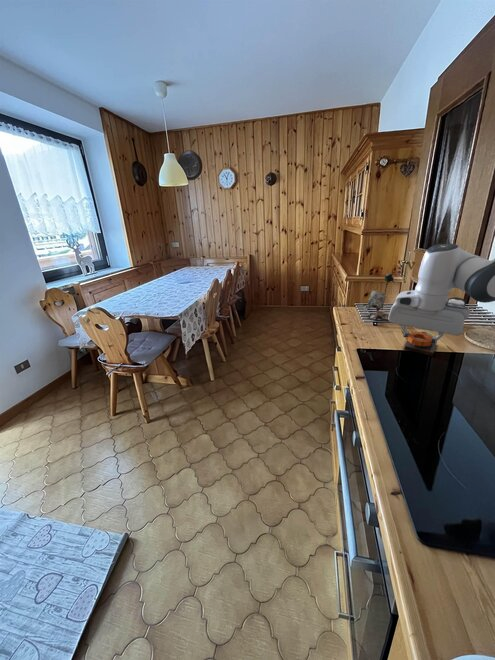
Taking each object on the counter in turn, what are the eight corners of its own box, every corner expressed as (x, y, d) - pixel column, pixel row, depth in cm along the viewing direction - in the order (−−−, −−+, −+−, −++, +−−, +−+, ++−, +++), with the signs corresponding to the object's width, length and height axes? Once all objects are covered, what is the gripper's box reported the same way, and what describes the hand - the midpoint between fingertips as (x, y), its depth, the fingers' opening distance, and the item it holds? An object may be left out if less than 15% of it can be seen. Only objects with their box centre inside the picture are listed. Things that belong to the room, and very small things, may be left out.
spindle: (436, 345, 104) (440, 330, 102) (432, 356, 98) (436, 341, 95) (409, 339, 109) (412, 325, 107) (404, 349, 103) (407, 335, 100)
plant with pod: (366, 311, 134) (372, 270, 125) (392, 316, 128) (400, 273, 119) (362, 318, 128) (367, 275, 119) (388, 323, 122) (397, 278, 113)
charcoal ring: (433, 342, 104) (434, 338, 103) (430, 350, 99) (431, 346, 98) (412, 337, 107) (413, 333, 107) (408, 345, 103) (409, 341, 102)
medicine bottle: (440, 321, 121) (448, 294, 116) (461, 324, 117) (469, 297, 111) (437, 327, 116) (445, 300, 111) (458, 331, 112) (467, 303, 107)
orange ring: (432, 339, 92) (433, 334, 91) (429, 348, 87) (430, 344, 87) (409, 334, 96) (410, 330, 95) (405, 342, 91) (406, 338, 90)
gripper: (472, 302, 82) (458, 343, 88) (395, 291, 93) (388, 328, 99) (471, 310, 77) (457, 353, 84) (390, 297, 89) (383, 335, 95)
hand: (419, 339), depth 91 cm, fingers closed on orange ring, 7 cm apart
